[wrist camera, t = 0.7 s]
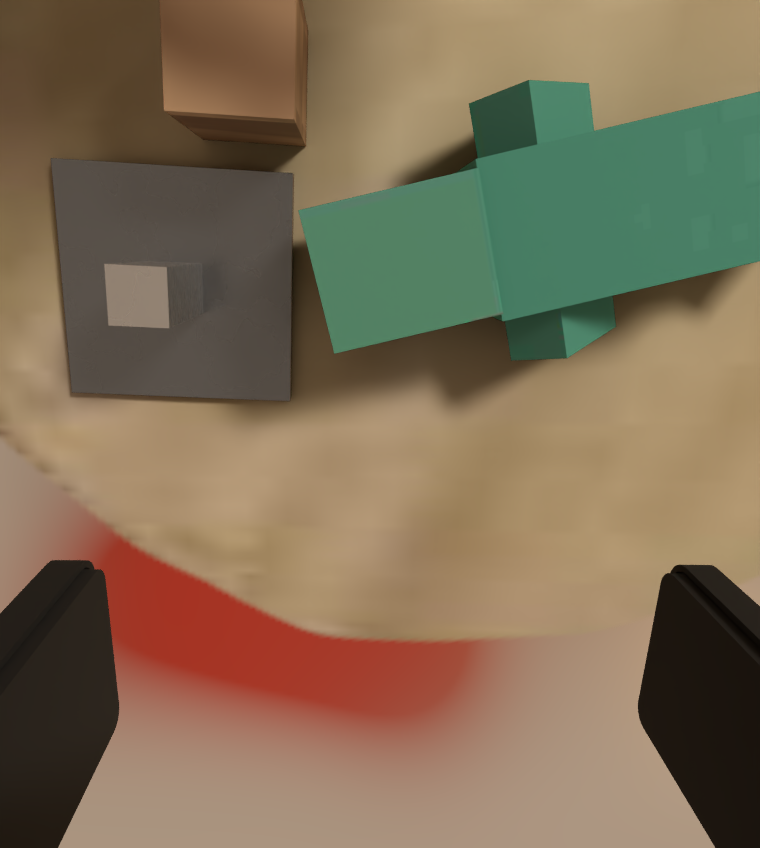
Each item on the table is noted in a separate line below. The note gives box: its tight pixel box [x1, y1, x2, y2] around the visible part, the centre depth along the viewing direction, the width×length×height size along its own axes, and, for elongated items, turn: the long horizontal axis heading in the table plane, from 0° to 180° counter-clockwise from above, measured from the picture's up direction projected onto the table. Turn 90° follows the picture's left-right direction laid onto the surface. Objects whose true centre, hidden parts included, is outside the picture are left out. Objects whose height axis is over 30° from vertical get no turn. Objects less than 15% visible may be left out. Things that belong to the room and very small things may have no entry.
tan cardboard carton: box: [159, 0, 308, 146], centre depth 27 cm, size 5×5×7 cm
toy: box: [298, 80, 760, 361], centre depth 28 cm, size 12×10×30 cm
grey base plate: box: [51, 158, 294, 401], centre depth 29 cm, size 12×12×7 cm
